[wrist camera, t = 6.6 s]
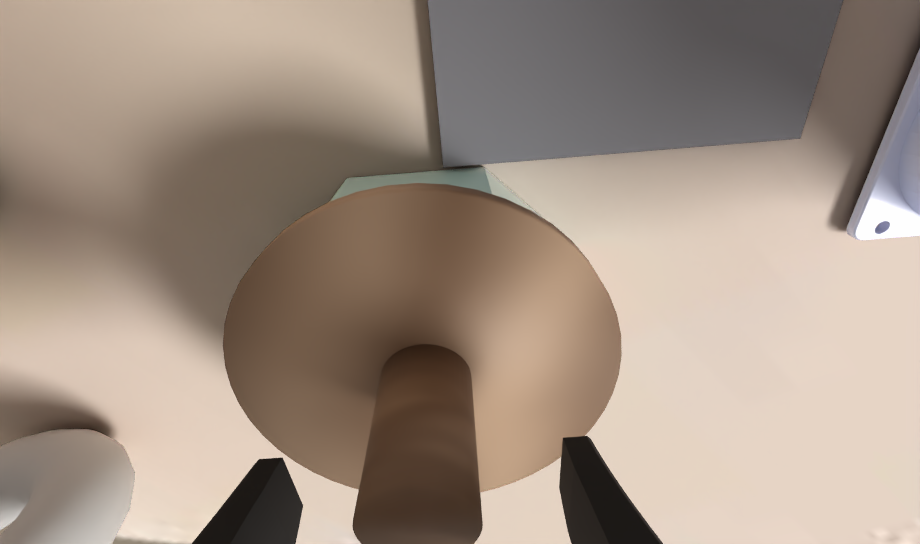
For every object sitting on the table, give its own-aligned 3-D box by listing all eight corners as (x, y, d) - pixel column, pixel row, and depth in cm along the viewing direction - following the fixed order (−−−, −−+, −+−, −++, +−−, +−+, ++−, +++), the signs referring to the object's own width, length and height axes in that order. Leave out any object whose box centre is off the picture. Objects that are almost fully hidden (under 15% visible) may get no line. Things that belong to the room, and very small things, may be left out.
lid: (648, 179, 11) (795, 283, 6) (584, 473, 17) (637, 639, 12) (179, 186, 11) (-22, 301, 6) (281, 483, 17) (217, 656, 12)
